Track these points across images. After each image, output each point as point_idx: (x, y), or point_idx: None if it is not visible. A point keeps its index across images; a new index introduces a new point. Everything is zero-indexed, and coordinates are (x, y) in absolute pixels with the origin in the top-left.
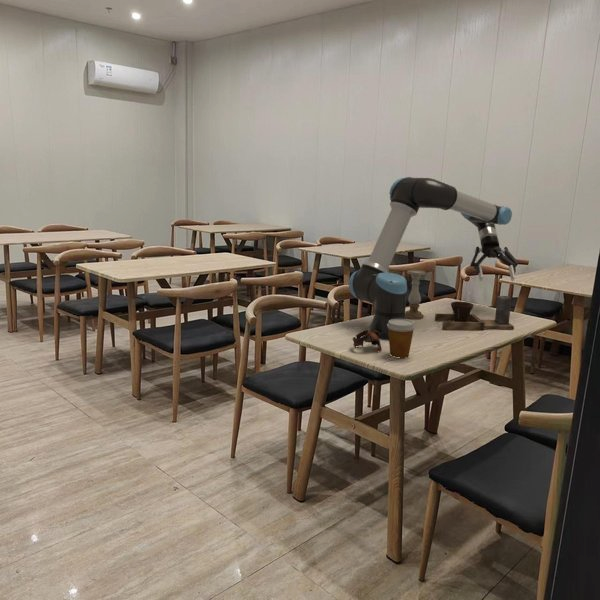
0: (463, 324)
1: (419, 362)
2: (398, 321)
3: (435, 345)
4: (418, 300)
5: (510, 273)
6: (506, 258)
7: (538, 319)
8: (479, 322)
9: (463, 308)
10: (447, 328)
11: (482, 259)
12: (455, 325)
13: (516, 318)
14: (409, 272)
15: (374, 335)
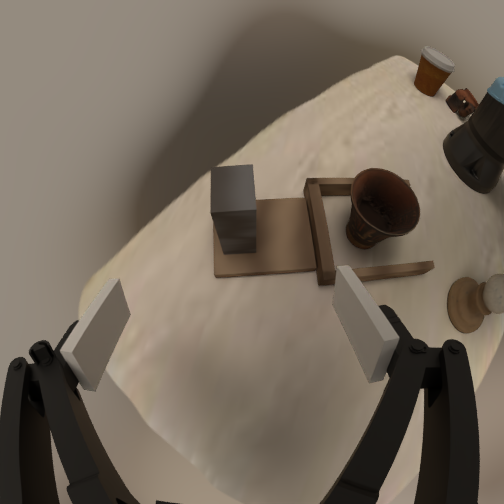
0: None
1: (397, 70)
2: (445, 61)
3: (395, 110)
4: (490, 277)
5: (109, 341)
6: (61, 425)
7: None
8: (320, 181)
9: (379, 173)
10: None
11: (380, 409)
12: None
13: (155, 345)
14: None
15: (461, 90)
